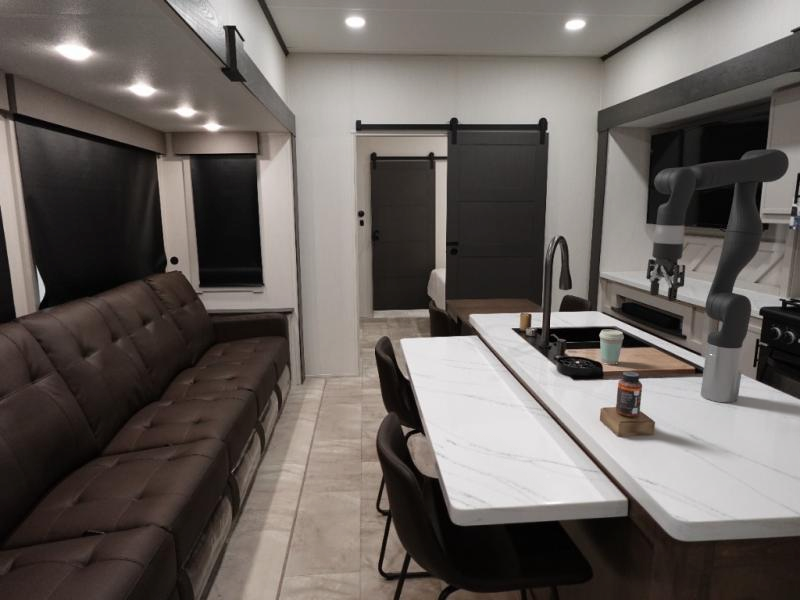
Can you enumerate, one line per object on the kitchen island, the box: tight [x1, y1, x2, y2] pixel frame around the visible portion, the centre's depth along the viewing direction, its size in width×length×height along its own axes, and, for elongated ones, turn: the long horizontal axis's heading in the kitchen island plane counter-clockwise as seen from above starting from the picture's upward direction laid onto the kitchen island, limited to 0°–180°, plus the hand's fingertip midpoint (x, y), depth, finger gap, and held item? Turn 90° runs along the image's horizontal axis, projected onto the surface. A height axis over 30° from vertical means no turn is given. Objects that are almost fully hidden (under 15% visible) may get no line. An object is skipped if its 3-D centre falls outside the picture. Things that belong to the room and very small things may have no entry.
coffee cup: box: [598, 329, 625, 364], centre depth 199 cm, size 8×8×12 cm
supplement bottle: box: [615, 371, 643, 417], centre depth 143 cm, size 6×6×11 cm
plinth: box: [599, 406, 656, 437], centre depth 144 cm, size 10×10×4 cm
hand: (662, 298), depth 152 cm, fingers open, 8 cm apart
